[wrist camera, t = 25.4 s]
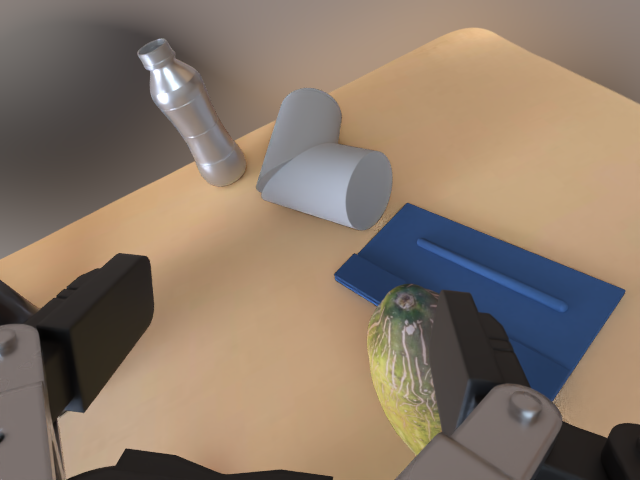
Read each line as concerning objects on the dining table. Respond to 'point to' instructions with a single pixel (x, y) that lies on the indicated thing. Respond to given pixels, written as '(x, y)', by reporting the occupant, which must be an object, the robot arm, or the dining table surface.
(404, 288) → the vegetable
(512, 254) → the blue rectangular panel
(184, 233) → the dining table surface
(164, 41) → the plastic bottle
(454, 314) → the robot arm
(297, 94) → the elbow connector
